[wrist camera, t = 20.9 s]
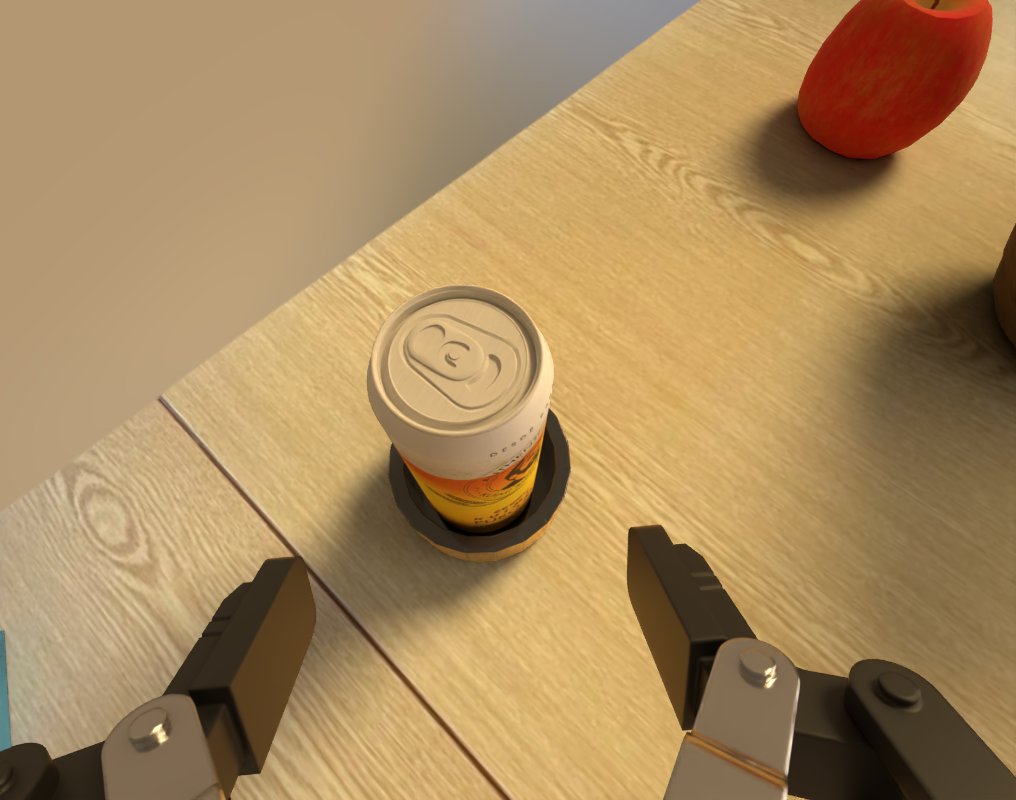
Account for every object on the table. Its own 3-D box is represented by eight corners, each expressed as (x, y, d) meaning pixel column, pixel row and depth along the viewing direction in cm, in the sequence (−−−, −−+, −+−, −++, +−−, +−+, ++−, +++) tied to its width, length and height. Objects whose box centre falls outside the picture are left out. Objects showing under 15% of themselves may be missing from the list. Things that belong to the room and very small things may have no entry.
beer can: (494, 557, 27) (482, 490, 14) (406, 496, 29) (315, 378, 15) (553, 467, 29) (593, 330, 16) (468, 414, 31) (437, 245, 17)
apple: (942, 131, 42) (1073, -17, 32) (870, 195, 39) (991, 52, 29) (831, 69, 45) (920, -83, 35) (757, 123, 42) (832, -26, 33)
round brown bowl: (503, 597, 27) (503, 593, 23) (370, 500, 29) (350, 482, 25) (591, 459, 30) (603, 436, 27) (465, 380, 32) (460, 349, 29)
